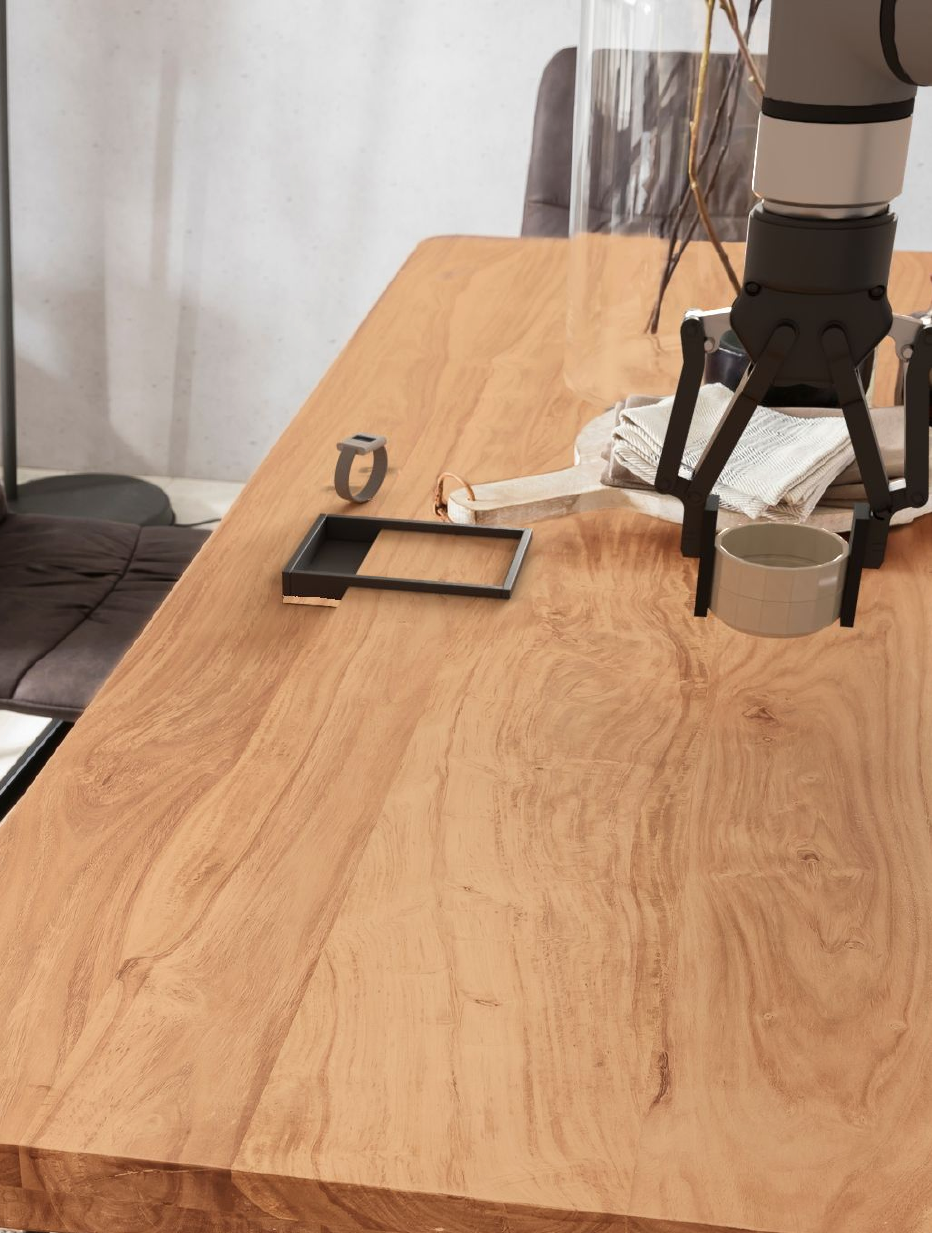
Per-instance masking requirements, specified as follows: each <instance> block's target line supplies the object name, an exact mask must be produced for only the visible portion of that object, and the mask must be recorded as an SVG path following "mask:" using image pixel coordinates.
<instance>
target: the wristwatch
mask: <svg viewBox="0 0 932 1233" xmlns="http://www.w3.org/2000/svg"><path fill="white" fill-rule="evenodd" d="M387 443H388V440H387V437H386V436H384V435H378V434H373V433H368V432H365V431H358V432H357V433H355V434H353V435H350V436H349V437H347V438H344V439H343V440H341V441H338V442H337V443H336V445H335V446H336V447H335V448H336V450H337V451H339V452H340V453H339V456H338V458H337V462H336V466H335V469H334V476H333V478H334V479H333V482H334V483H333V484H334V489H335V492H336V494H337V496H338V497H339V498H340V499H342V500H344V501H347V502H348V501H349V502H353V503H358V504H359V503H360V504H362V502H363V503H366V502H368V501H369V500H368V499H370V498H371V499H373V498H374V497H375V496H376V494H378V492H379V490H381V487H382V485H383V484H384V480H385V478H386V475H387V471H388V465H389V457H388V451H387V448H386V445H387ZM370 453H372V456H373V457H372V458H373V462H372V468H371V472H370V475H369V478H368V480H367V481H366V484H365V485H364V487H363V488H362V489H361V490H360V492H358V493H357V494H356V495H353V494H352V492H351V489H350V474H351V471H352V466H353V463H354V460H355V457H356V455H357V456H362V457H364V456H366V455H368V454H370ZM373 496H374V497H373ZM371 499H370V500H371ZM367 500H368V501H367ZM365 501H366V502H365Z"/></svg>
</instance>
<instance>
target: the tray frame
mask: <svg viewBox="0 0 932 1233" xmlns="http://www.w3.org/2000/svg"><path fill="white" fill-rule="evenodd" d="M317 516H318V517H317V518H316V519H315V520H314V522H313V524H312V526H311V527H310V529H309V530H308V531H307V533H306V535H305V536H304V537H303V539H302V541H301V542H300V543H299V545H298V546H297V548H296V550H295V551H294V553H293V554H292V556H291V557H290V559H289V560H288V561H287V563H286V565H285V566H284V567H283V569H282V571H281V589H282V590H281V592H282V594H281V595H282V596H283V595H284V596H295V597H296V596H298V597H320V598H327V599H335V600H341V601H343V600H342V599H343V598H344V597H345V595H346V593H347V591H348V589H349V588H363V589H374V590H375V589H376V590H387V591H397V592H398V591H402V592H412V593H413V592H414V593H423V594H424V593H425V594H437V595H448V596H449V595H450V596H463V597H474V598H487V599H498V600H499V599H500V600H511V597H512V594H513V592H514V589H515V586H516V584H517V581H518V578H519V575H520V573H521V570H522V567H523V566H524V562H525V560H526V556H527V553H528V551H529V548H530V545H531V543H532V540H533V533H534V529H533V528H528V527H516V526H515V527H513V526H502V525H501V526H500V525H488V524H487V525H485V524H474V523H460V522H445V521H432V520H420V519H419V520H418V519H405V518H391V517H390V518H389V517H379V516H378V517H377V516H362V515H350V514H336V513H324V512H323V513H319V515H317ZM382 530H386V531H400V532H412V533H413V532H415V533H427V534H430V533H431V534H439V535H453V536H454V535H455V536H465V537H467V536H468V537H469V536H470V537H482V538H495V539H509V540H511V539H512V540H519V543H518V546H517V549H516V551H515V554H514V557H513V559H512V561H511V564H510V567H509V570H508V573H507V575H506V577H505V580H504V583H503V585H491V584H490V585H489V584H479V583H478V584H476V583H466V582H465V583H464V582H453V581H452V582H451V581H440V580H429V579H427V580H426V579H414V578H403V577H389V576H377V575H367V574H365V575H364V574H357V573H358V572H359V570H360V569H361V567H362V565H363V563H364V561H365V559H366V557H367V556H368V554H369V552H370V550H371V549H372V547H373V545H374V544H375V542H376V540H377V538H378V536H379V535H380V533H381V531H382Z"/></svg>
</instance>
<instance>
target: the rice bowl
mask: <svg viewBox="0 0 932 1233" xmlns="http://www.w3.org/2000/svg"><path fill="white" fill-rule="evenodd" d="M849 557H850V545H849V542H847V541H846V540H845V539H844V538H843V537H842V536H840V534H837V533H835V532H832V531H830V530H827V529H824V528H822V527H819V526H814V525H809V524H803V523H799V522H792V521H791V522H789V521H773V520H770V521H769V520H768V521H755V522H746V523H742V524H738V525H734V526H730V527H727V528H725V529H724V530H722V531H721V532H720V533H718V534H716V537H715V544H714V553H713V562H712V572H711V582H710V591H709V601H708V610H709V611H710V612H711V613H712V614H713V616H714V617H715V618H717V619H718V620H720V621H722V623H723V624H725V625H726V626H727V627H729V628H730V629H731V630H734V631H737V632H740V633H742V634H745V635H748V636H753V637H758V638H765V639H779V640H780V639H783V640H785V639H787V640H788V639H796V638H803V637H807V636H812V635H814V634H817V633H818V632H820V631H822V630H823V629H825V628H828V627H830V626H832V625H833V624H834V623H835V622H837V621H838V620H840V616H841V611H842V604H843V597H844V591H845V584H846V577H847V571H848V564H849Z"/></svg>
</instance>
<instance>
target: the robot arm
mask: <svg viewBox="0 0 932 1233" xmlns="http://www.w3.org/2000/svg"><path fill="white" fill-rule="evenodd" d="M769 14H770V16H769V28H768V41H767V42H768V43H767V56H766V57H767V58H766V67H765V80H764V91H763V92H762V97H761V98H762V100H761V107H760V112H759V118H758V126H757V137H756V145H755V146H756V147H755V154H754V155H755V156H754V167H753V173H752V174H753V175H752V183H751V184H752V185H751V189H752V192H753V193H754V195H755V196H756V197H758V198H759V199H761V200H762V201H760V202H758V203H756V205H754V207H753V208H752V209H751V210H750V211H749V213H748V214H749V216H748V224H747V234H746V244H745V253H744V263H743V272H742V283H741V288H740V290H739V292H738V295H737V296H736V297H735V299H734V300H733V302H732V304H731V306H730V307H725V308H720V309H714V310H707V311H703V310H702V309H701V308H699V307H691V308H688V309H687V310H686V311H685V312H684V314H683V316H682V319H681V322H680V328H679V334H680V344H681V353H682V361H683V362H682V366H681V370H680V374H679V379H678V382H677V387H676V389H675V390H676V391H675V395H674V399H673V402H672V406H671V412H670V416H669V420H668V423H667V427H666V432H665V436H664V439H663V444H662V447H661V452H660V456H659V460H658V463H657V464H658V465H657V469H656V473H655V478H654V480H653V481H654V482H653V486H654V490H655V492H657V493H658V494H660V495H670V496H672V497H675V498H676V499H678V500H679V501H680V502H681V504H682V506H683V515H682V527H681V536H680V553H681V555H682V556H681V557H682V558H690V559H698V569H697V579H696V588H695V589H696V590H695V601H694V609H693V617H695V618H707V617H708V610H709V608H708V601H709V591H710V582H711V572H712V562H713V553H714V544H715V537H716V536H717V525H718V518H719V508H720V507H719V506H720V499H721V498H720V496H721V495H720V494H711V492H712V490H713V489H714V486H715V485H716V483H717V481H718V479H719V478H720V476H721V474H722V472H723V470H724V468H725V467H726V465H727V463H728V461H729V459H730V458H731V456H732V454H733V452H734V450H735V449H736V446H737V445H738V443H739V441H740V439H741V437H742V436H743V435H744V432H745V430H746V429H747V426H748V424H749V423H750V421H751V419H752V417H753V416H754V414H755V412H756V410H757V409H758V407H759V405H760V403H761V402H762V400H763V399H764V397H765V396H766V394H767V392H768V391H769V389H770V387H771V385H772V387H779V388H780V387H781V388H782V387H785V388H789V387H794V386H798V385H805V386H809V387H812V388H816V389H826V390H828V389H829V390H830V389H831V390H832V387H833V386H834V389H835V392H836V396H837V399H838V402H839V406H840V408H841V411H842V414H843V418H844V421H845V425H846V429H847V432H848V435H849V438H850V443H851V447H852V450H853V453H854V457H855V459H856V463H857V467H858V470H859V475H860V477H861V481H862V484H863V488H864V491H865V495H866V499H867V502H854V507H853V513H852V519H851V525H850V526H851V527H850V534H849V540H848V544H849V545H850V557H849V564H848V571H847V577H846V584H845V591H844V597H843V604H842V611H841V616H840V618H839V628H852V629H853V628H854V627H855V620H856V613H857V607H858V600H859V594H860V593H859V592H860V586H861V582H862V581H861V580H862V574H863V569H867V570H880V568H881V567H882V565H883V564H884V561H885V557H886V550H887V543H888V537H889V532H890V526H891V521H892V519H893V516H894V515H895V514H896V513H898V512H900V511H902V510H906V509H909V508H912V509H921V508H923V507H924V506H926V505H927V503H928V502H929V497H930V372H931V369H932V315H924V316H922V317H920V318H916V317H912V316H909V315H903V314H899V313H895V312H893V308H892V305H891V302H890V300H889V298H888V291H889V290H888V289H889V282H890V276H891V268H892V263H893V262H892V261H893V256H894V247H895V242H896V234H897V228H898V220H899V215H898V213H896V211H895V208H894V207H893V206H892V205H891V203H892V202H893V201H895V200H896V199H897V198H899V197H900V195H902V193H903V190H904V189H903V188H904V181H905V175H906V167H907V160H908V153H909V146H910V140H911V134H912V133H911V132H912V126H913V119H914V110H915V104H916V103H915V102H916V97H917V94H918V88H919V87H922V88H927V87H932V0H770V13H769ZM729 331H732V332H733V334H734V335H735V337H736V339H737V340H738V342H739V344H740V345H741V347H742V348H743V350H744V352H745V353H746V355H747V357H748V358H749V360H750V362H749V364H748V366H747V367H746V369H745V371H744V373H743V375H742V377H741V380H740V383H739V384H738V386H737V388H736V390H735V392H734V394H733V396H732V398H731V399H730V401H729V403H728V405H727V407H726V408H725V410H724V412H723V414H722V416H721V418H720V420H719V421H718V423H717V426H716V427H715V428H714V430H713V433H712V434H711V436H710V438H709V440H708V442H707V444H706V446H705V448H704V450H702V453H701V455H700V457H699V459H698V461H697V463H696V464H695V466H694V468H693V470H692V472H691V471H689V470H686V469H684V468H681V465H682V460H683V457H684V452H685V450H686V445H687V441H688V438H689V433H690V429H691V425H692V421H693V417H694V413H695V409H696V407H697V406H696V405H697V401H698V398H699V393H700V389H701V385H702V383H703V382H702V380H703V377H704V372H705V367H706V363H707V357H708V355H709V354H714V353H715V352H717V350H719V348H720V346H721V340H722V338H723V336H724V335H725V334H726V333H727V332H729ZM887 336H888V337H890V338H891V339H893V341H894V352H895V355H896V357H897V359H899V360H900V361H902V362H903V479H900V480H896V481H893V482H890V480H889V476H888V472H887V470H886V466H885V462H884V458H883V455H882V450H881V447H880V444H879V440H878V437H877V432H876V430H875V426H874V422H873V419H872V416H871V411H870V408H869V405H868V400H867V397H866V394H865V390H864V386H863V382H862V378H861V373H860V371H859V367H860V366H861V364H863V362H864V361H865V360H866V359H867V358H868V357H869V356H870V354H872V352H873V351H874V350H875V349H876V348H877V347H879V345H880V344H881V343H882V341H883V340H884V339H885V338H886V337H887Z"/></svg>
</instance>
